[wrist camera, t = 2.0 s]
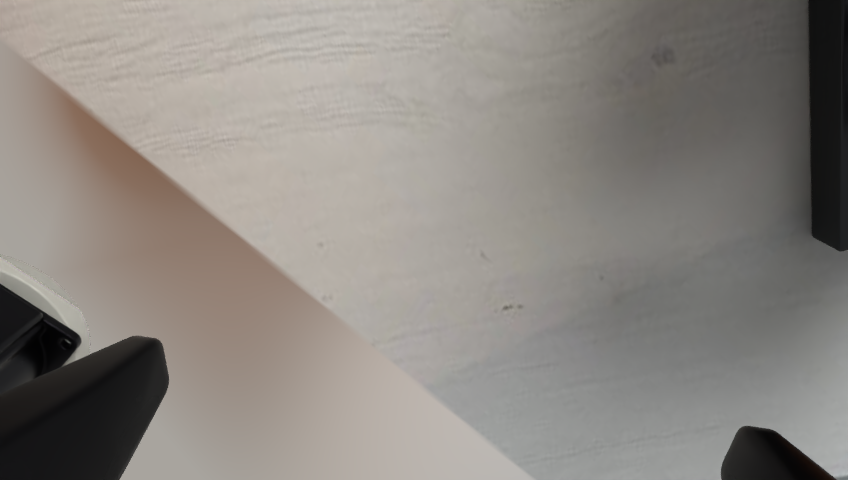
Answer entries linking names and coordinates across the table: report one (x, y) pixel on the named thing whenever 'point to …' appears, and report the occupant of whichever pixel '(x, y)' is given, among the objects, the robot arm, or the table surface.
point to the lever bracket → (829, 120)
